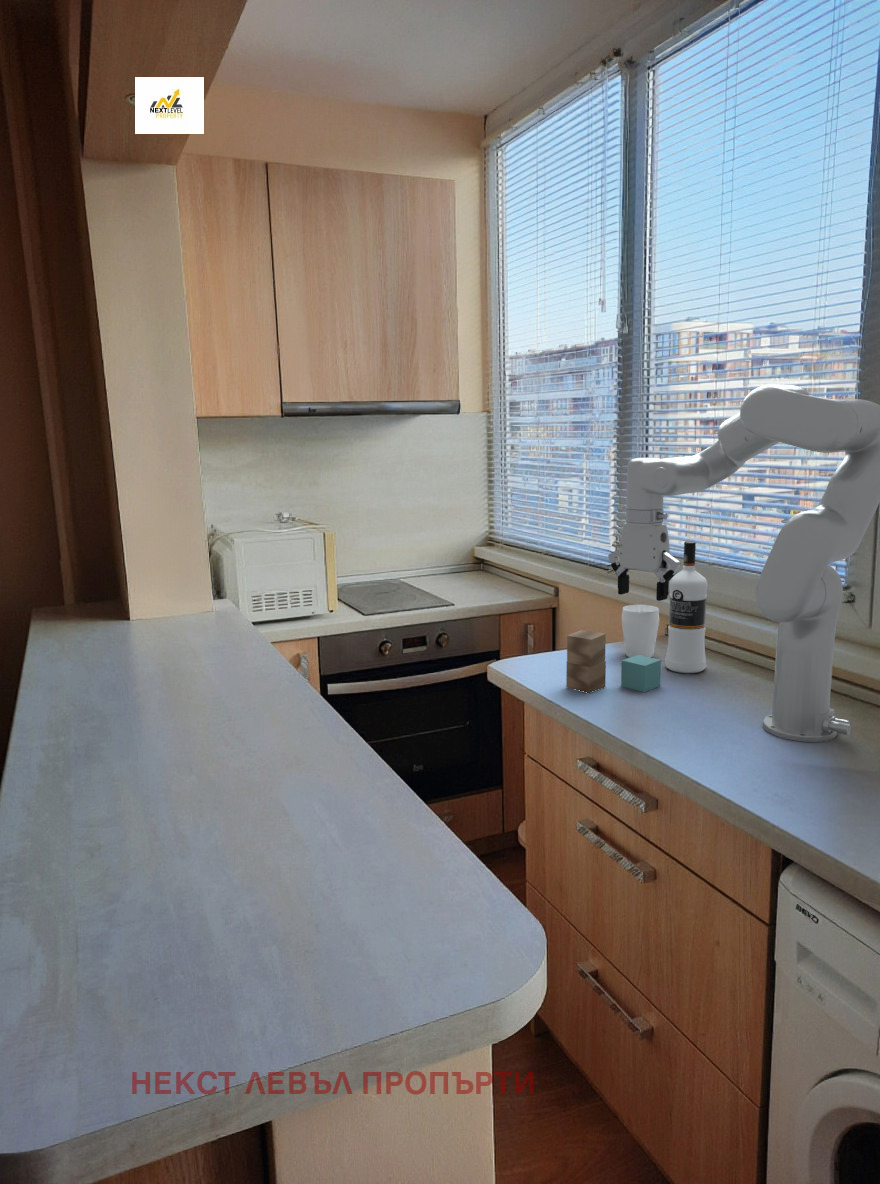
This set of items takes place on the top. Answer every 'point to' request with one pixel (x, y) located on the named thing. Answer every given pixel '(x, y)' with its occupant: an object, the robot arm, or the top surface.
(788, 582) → the robot arm
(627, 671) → the teal block
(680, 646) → the vodka
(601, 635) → the tower mid
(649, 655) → the cup
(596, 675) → the tower base
